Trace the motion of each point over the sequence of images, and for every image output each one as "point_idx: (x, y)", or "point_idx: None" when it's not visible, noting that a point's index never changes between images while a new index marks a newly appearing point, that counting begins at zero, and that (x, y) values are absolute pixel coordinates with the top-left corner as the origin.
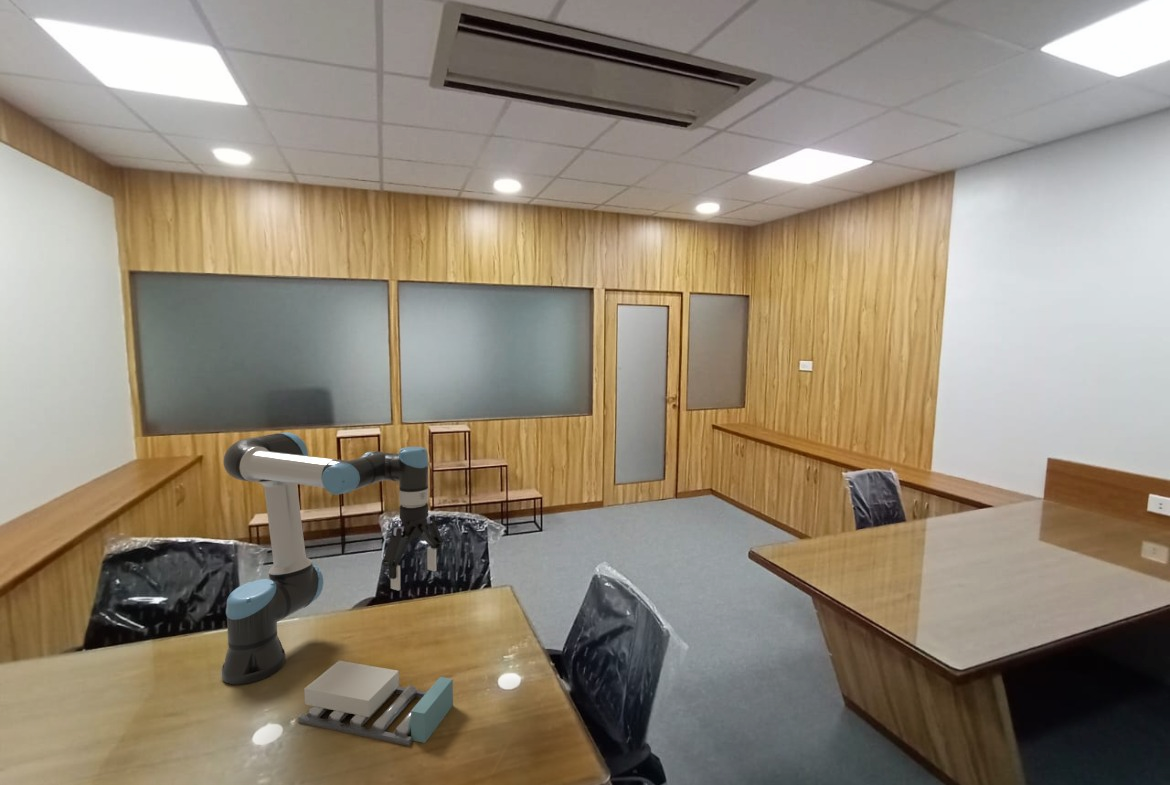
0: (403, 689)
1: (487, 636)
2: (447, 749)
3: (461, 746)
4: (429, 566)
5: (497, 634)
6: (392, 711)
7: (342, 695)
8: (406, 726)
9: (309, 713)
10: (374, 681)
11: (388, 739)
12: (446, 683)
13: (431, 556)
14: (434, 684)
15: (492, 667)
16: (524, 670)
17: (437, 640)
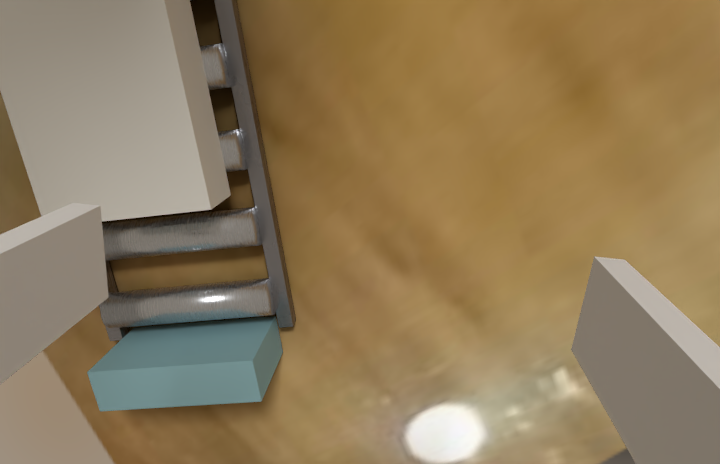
0: (257, 190)
1: (675, 258)
2: (158, 414)
3: (180, 436)
4: (604, 303)
5: (699, 286)
6: (138, 253)
7: (11, 121)
8: (118, 326)
9: None
10: (123, 170)
11: None
12: (233, 396)
13: (654, 418)
14: (212, 366)
15: (489, 364)
16: (505, 453)
17: (595, 81)
